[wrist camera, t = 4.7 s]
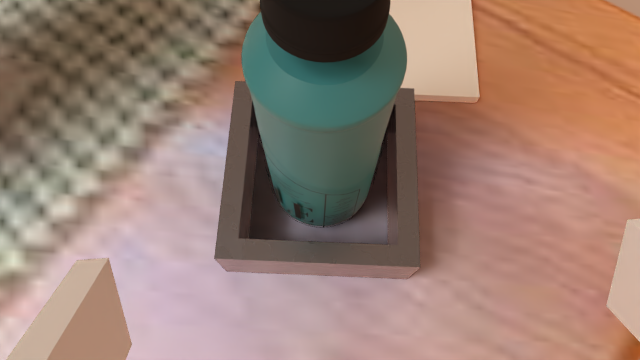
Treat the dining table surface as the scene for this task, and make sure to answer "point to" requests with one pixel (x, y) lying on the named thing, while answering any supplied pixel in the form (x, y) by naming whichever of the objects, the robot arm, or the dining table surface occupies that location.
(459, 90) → the coaster pad
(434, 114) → the dining table surface
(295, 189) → the beverage bottle
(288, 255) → the bottle holder
